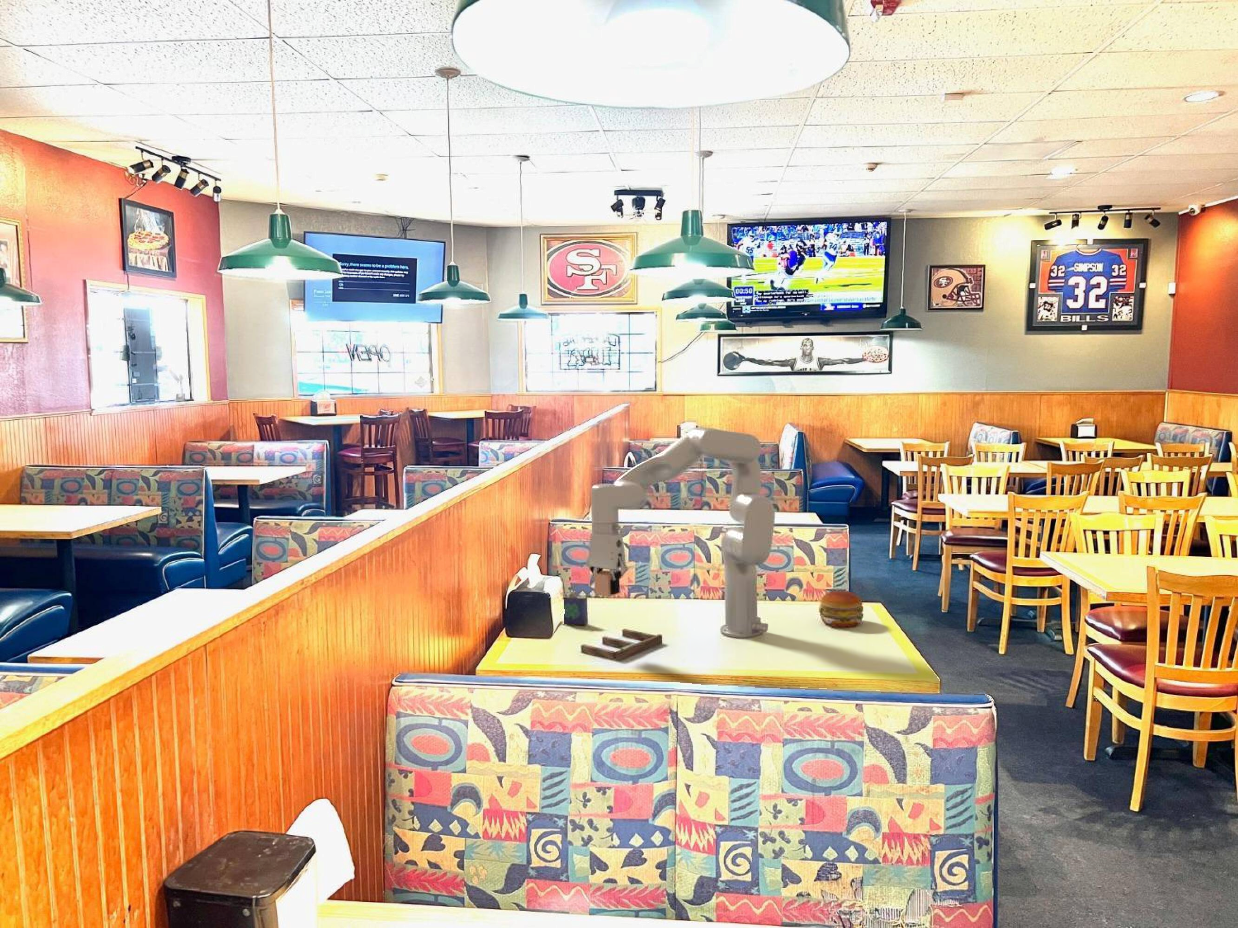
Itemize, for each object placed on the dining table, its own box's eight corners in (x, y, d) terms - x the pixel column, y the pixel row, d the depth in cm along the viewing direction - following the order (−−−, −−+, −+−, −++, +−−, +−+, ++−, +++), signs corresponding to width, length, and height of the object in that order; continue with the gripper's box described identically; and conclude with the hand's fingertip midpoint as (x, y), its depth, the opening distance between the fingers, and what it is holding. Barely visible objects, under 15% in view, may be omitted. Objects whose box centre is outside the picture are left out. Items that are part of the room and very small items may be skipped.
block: (619, 593, 250) (619, 572, 249) (608, 596, 246) (607, 575, 245) (606, 590, 253) (605, 570, 252) (594, 594, 249) (594, 573, 248)
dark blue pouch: (589, 624, 279) (588, 590, 278) (585, 626, 276) (584, 593, 275) (562, 621, 282) (561, 588, 281) (558, 624, 280) (557, 591, 279)
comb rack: (662, 643, 257) (662, 633, 257) (619, 661, 242) (618, 650, 242) (625, 635, 266) (624, 625, 265) (581, 652, 251) (580, 642, 251)
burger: (846, 632, 262) (846, 599, 261) (809, 623, 272) (809, 591, 271) (872, 623, 271) (872, 591, 270) (835, 615, 281) (835, 584, 280)
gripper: (637, 528, 245) (639, 593, 247) (591, 523, 256) (593, 585, 258) (620, 533, 239) (622, 599, 241) (573, 527, 250) (576, 590, 252)
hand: (607, 591), depth 249 cm, fingers closed on block, 5 cm apart
